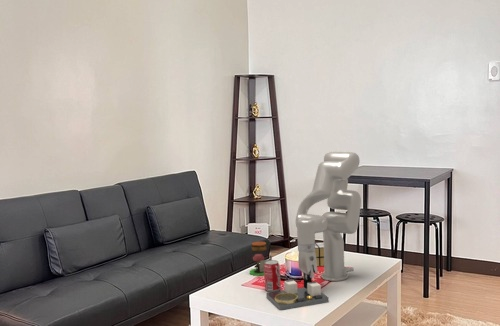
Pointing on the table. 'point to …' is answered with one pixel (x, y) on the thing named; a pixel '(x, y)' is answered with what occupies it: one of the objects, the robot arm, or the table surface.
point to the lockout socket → (286, 295)
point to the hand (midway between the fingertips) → (307, 287)
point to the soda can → (272, 276)
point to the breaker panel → (302, 300)
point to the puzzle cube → (319, 253)
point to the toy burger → (259, 258)
